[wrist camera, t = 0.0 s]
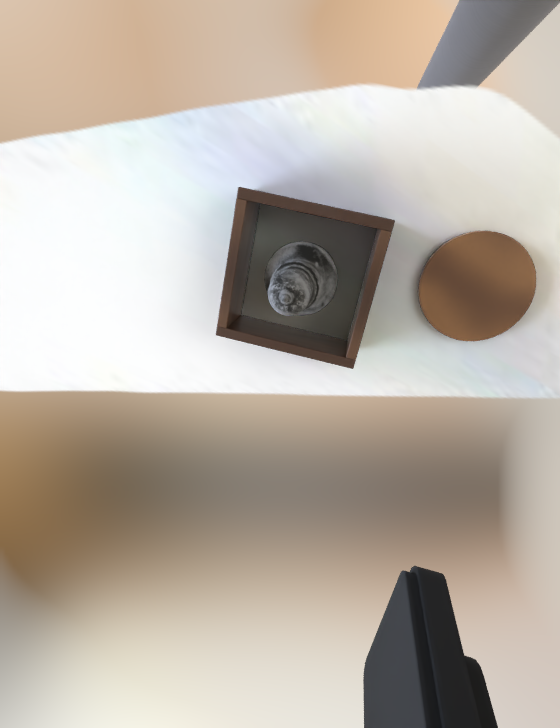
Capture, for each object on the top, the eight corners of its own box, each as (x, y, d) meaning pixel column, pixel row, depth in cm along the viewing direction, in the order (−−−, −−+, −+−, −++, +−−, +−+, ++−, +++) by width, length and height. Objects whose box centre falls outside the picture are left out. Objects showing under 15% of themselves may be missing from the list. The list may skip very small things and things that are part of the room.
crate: (253, 189, 36) (238, 186, 32) (389, 219, 35) (395, 220, 31) (231, 320, 40) (215, 335, 36) (353, 350, 39) (353, 369, 35)
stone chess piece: (283, 313, 39) (254, 354, 28) (264, 250, 38) (225, 266, 27) (346, 296, 38) (342, 332, 27) (329, 229, 36) (317, 238, 25)
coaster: (438, 220, 35) (439, 220, 34) (552, 244, 34) (555, 244, 33) (404, 325, 38) (405, 327, 37) (508, 350, 37) (510, 352, 37)
